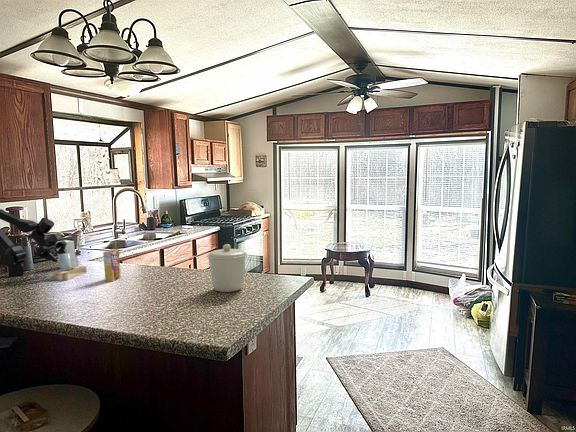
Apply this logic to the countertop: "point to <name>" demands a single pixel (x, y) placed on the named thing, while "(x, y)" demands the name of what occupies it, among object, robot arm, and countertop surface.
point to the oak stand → (68, 273)
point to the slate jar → (65, 262)
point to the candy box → (112, 265)
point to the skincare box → (70, 250)
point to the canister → (227, 268)
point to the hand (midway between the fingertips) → (62, 259)
